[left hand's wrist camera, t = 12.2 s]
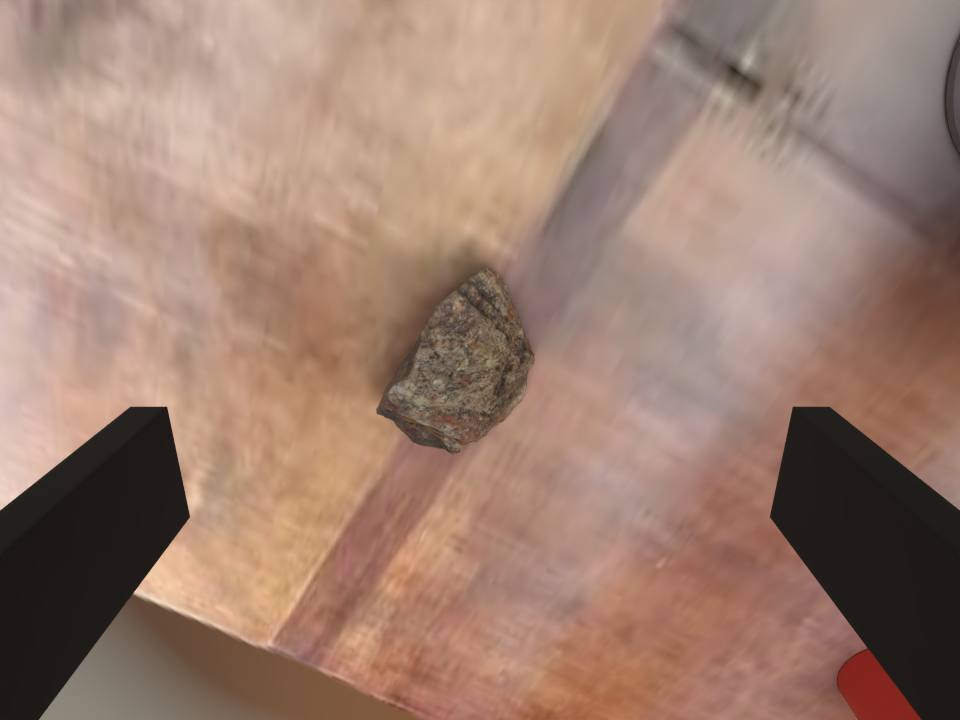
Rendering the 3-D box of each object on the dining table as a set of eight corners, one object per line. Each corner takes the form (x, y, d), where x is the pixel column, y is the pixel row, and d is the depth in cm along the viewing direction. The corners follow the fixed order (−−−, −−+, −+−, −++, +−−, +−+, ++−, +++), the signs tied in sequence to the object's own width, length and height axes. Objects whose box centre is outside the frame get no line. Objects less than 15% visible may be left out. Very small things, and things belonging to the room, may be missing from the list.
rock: (351, 383, 45) (453, 458, 48) (317, 445, 38) (440, 531, 40) (475, 240, 40) (581, 332, 43) (465, 277, 32) (596, 387, 35)
